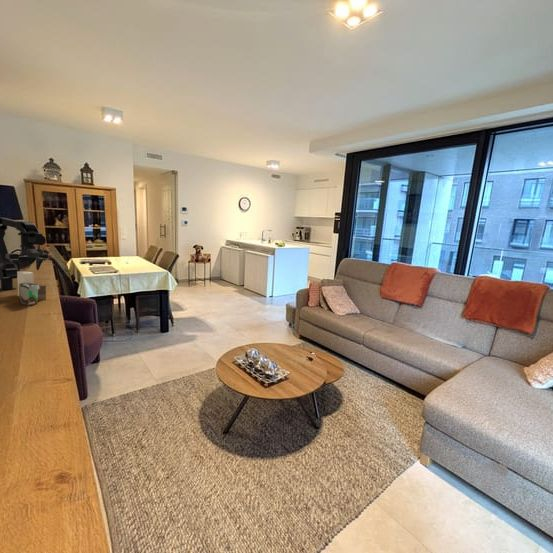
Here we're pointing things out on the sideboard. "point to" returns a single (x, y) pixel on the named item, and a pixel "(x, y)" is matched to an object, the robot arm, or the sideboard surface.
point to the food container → (29, 293)
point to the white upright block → (24, 278)
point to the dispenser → (39, 292)
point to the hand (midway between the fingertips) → (28, 270)
